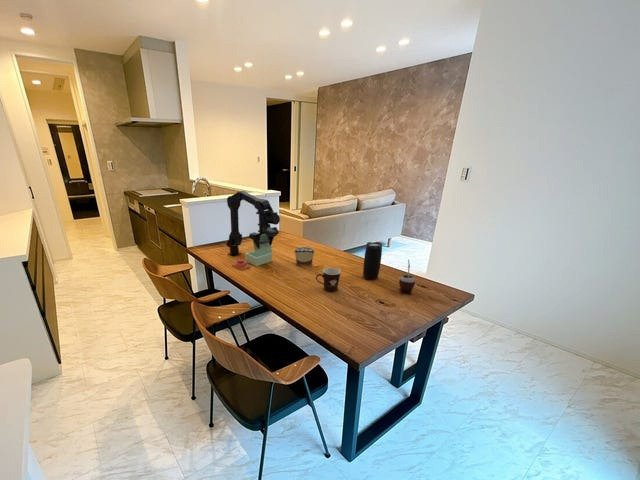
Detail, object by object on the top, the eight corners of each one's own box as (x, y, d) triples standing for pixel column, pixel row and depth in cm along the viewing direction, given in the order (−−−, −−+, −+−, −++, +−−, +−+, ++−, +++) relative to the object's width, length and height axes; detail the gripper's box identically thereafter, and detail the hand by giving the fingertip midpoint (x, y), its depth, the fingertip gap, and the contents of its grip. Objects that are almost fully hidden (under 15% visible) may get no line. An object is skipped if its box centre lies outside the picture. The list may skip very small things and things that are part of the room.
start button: (236, 262, 182) (236, 260, 181) (241, 261, 184) (241, 258, 183) (240, 264, 179) (239, 261, 178) (244, 262, 181) (244, 260, 180)
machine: (245, 261, 191) (245, 253, 189) (260, 256, 198) (260, 249, 196) (256, 266, 183) (256, 258, 181) (272, 261, 190) (271, 253, 188)
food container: (313, 261, 188) (314, 246, 184) (314, 265, 182) (314, 250, 178) (294, 261, 189) (294, 246, 185) (294, 265, 183) (294, 249, 179)
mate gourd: (406, 296, 144) (411, 267, 138) (393, 289, 150) (397, 262, 144) (416, 292, 147) (422, 264, 141) (403, 286, 153) (408, 259, 147)
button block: (232, 266, 184) (231, 261, 183) (240, 263, 188) (240, 258, 187) (241, 270, 177) (241, 265, 176) (250, 267, 181) (249, 263, 180)
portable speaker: (376, 274, 168) (381, 241, 160) (379, 281, 159) (384, 246, 151) (361, 273, 169) (365, 240, 161) (363, 280, 161) (367, 246, 153)
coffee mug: (340, 286, 154) (341, 269, 150) (337, 294, 147) (339, 275, 143) (318, 284, 158) (319, 266, 154) (314, 291, 151) (315, 272, 146)
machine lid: (251, 237, 178) (256, 237, 174) (267, 233, 186) (272, 233, 182) (255, 257, 181) (260, 257, 177) (271, 252, 188) (276, 252, 185)
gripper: (259, 227, 164) (260, 254, 171) (284, 221, 175) (284, 246, 182) (247, 223, 172) (249, 249, 178) (272, 218, 183) (272, 243, 189)
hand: (264, 247), depth 182 cm, fingers open, 9 cm apart
